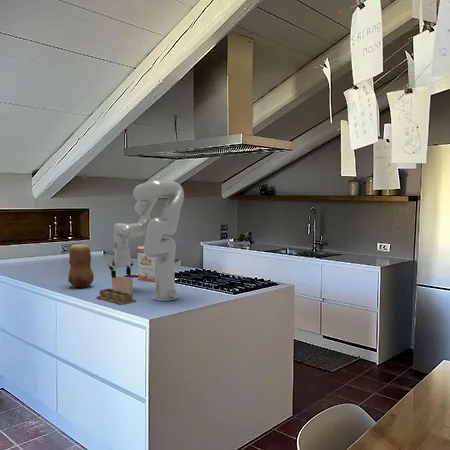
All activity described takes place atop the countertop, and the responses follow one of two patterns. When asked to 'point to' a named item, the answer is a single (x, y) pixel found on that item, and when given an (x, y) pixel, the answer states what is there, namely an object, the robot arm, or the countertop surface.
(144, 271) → the cracker box
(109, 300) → the slot rack
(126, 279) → the clay strip
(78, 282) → the butternut squash
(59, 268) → the countertop surface
